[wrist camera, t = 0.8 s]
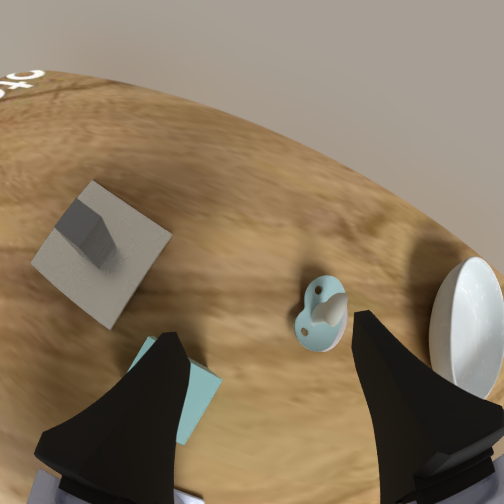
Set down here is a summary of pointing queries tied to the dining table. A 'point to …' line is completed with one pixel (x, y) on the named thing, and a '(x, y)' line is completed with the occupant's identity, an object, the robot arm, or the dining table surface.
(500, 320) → the serving bowl
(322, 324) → the pacifier
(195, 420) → the teal block
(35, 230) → the dining table surface
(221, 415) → the dining table surface
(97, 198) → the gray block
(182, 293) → the dining table surface
